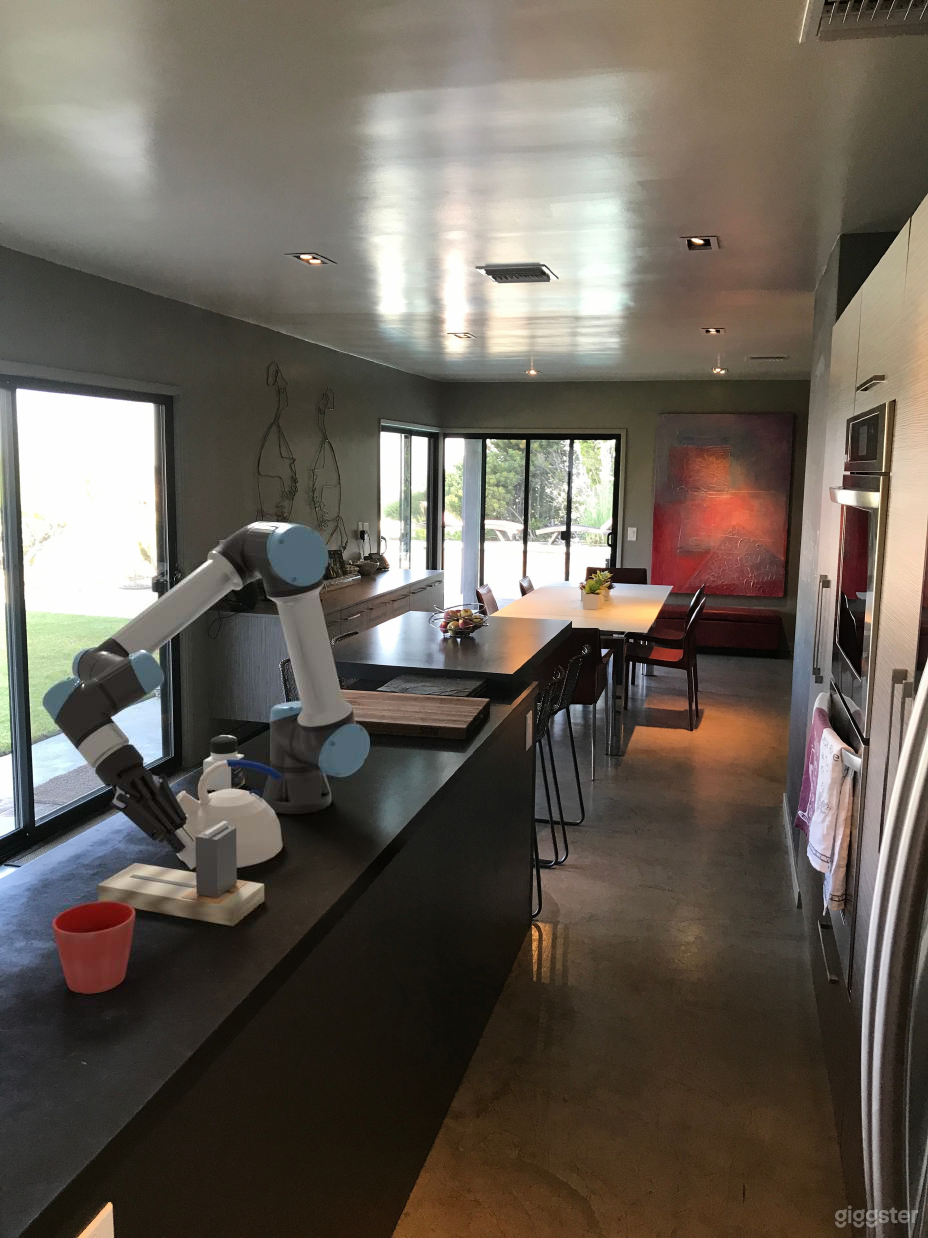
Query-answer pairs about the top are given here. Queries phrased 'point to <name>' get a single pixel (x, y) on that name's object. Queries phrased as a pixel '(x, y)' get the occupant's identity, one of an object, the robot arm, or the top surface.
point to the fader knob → (216, 860)
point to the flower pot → (94, 944)
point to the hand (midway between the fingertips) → (198, 863)
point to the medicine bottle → (227, 776)
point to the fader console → (179, 894)
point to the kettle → (235, 815)
